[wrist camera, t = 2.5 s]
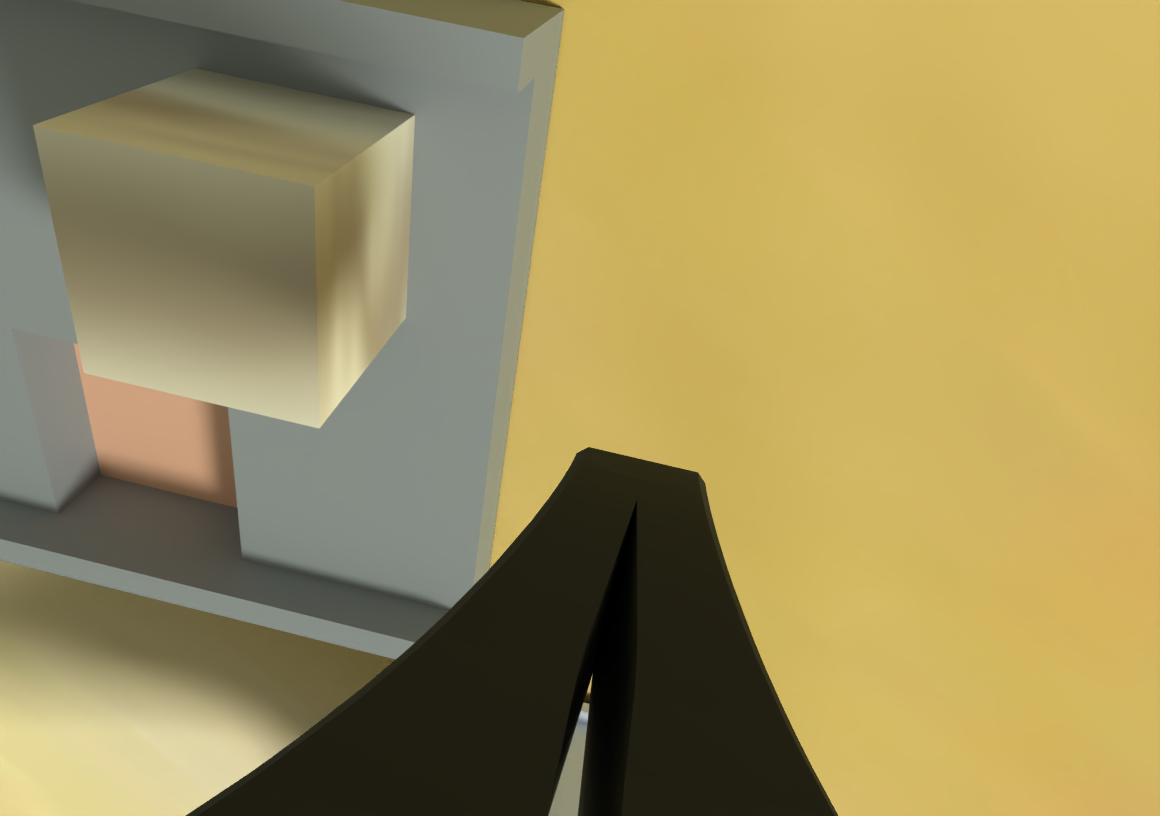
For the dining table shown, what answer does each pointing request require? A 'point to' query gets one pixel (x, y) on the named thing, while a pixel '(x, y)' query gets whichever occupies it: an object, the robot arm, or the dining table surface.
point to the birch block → (232, 239)
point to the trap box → (256, 442)
